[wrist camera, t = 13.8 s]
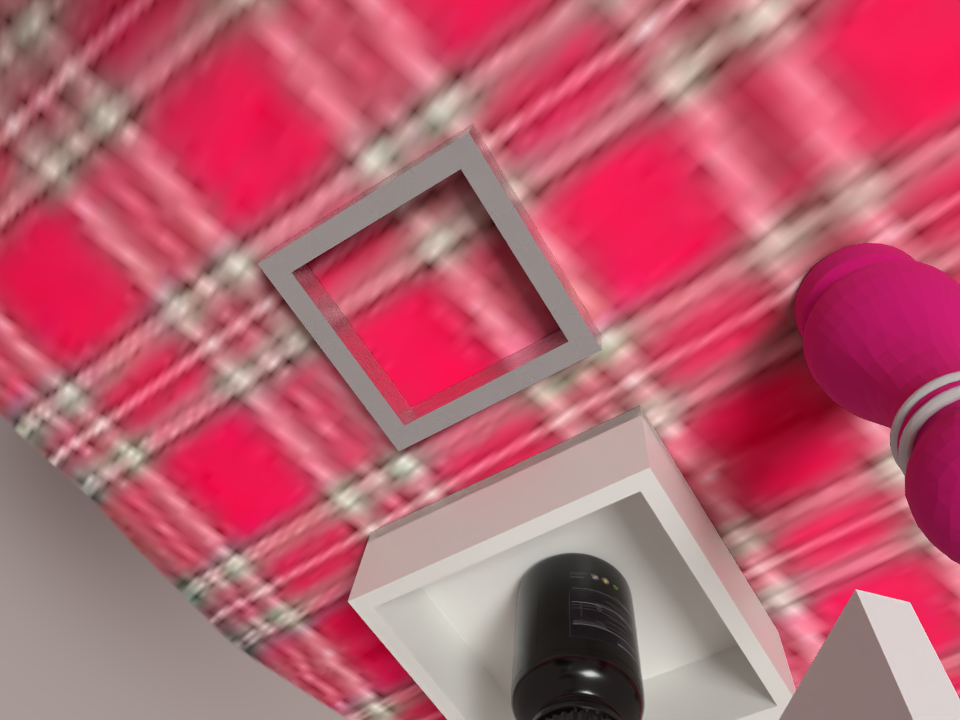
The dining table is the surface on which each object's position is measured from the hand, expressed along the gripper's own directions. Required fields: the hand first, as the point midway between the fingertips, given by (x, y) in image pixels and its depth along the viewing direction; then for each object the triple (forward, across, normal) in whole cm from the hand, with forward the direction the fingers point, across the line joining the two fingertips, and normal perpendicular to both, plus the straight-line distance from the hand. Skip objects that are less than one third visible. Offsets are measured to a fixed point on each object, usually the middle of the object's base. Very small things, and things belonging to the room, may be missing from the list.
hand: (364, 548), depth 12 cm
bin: (+31, +11, -26) cm, 42 cm away
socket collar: (+31, -1, -10) cm, 33 cm away
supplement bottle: (+30, +11, -26) cm, 41 cm away
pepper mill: (+31, +19, -5) cm, 37 cm away
